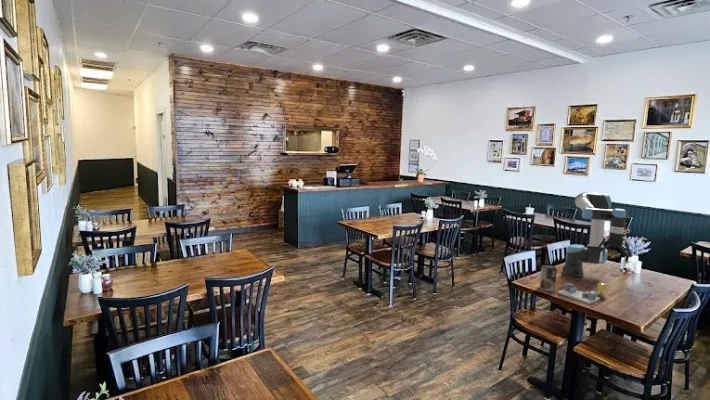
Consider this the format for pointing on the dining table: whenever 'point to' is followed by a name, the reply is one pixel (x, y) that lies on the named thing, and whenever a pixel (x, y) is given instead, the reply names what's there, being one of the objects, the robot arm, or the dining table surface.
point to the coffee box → (548, 278)
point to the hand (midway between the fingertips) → (612, 263)
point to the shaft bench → (579, 294)
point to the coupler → (601, 290)
